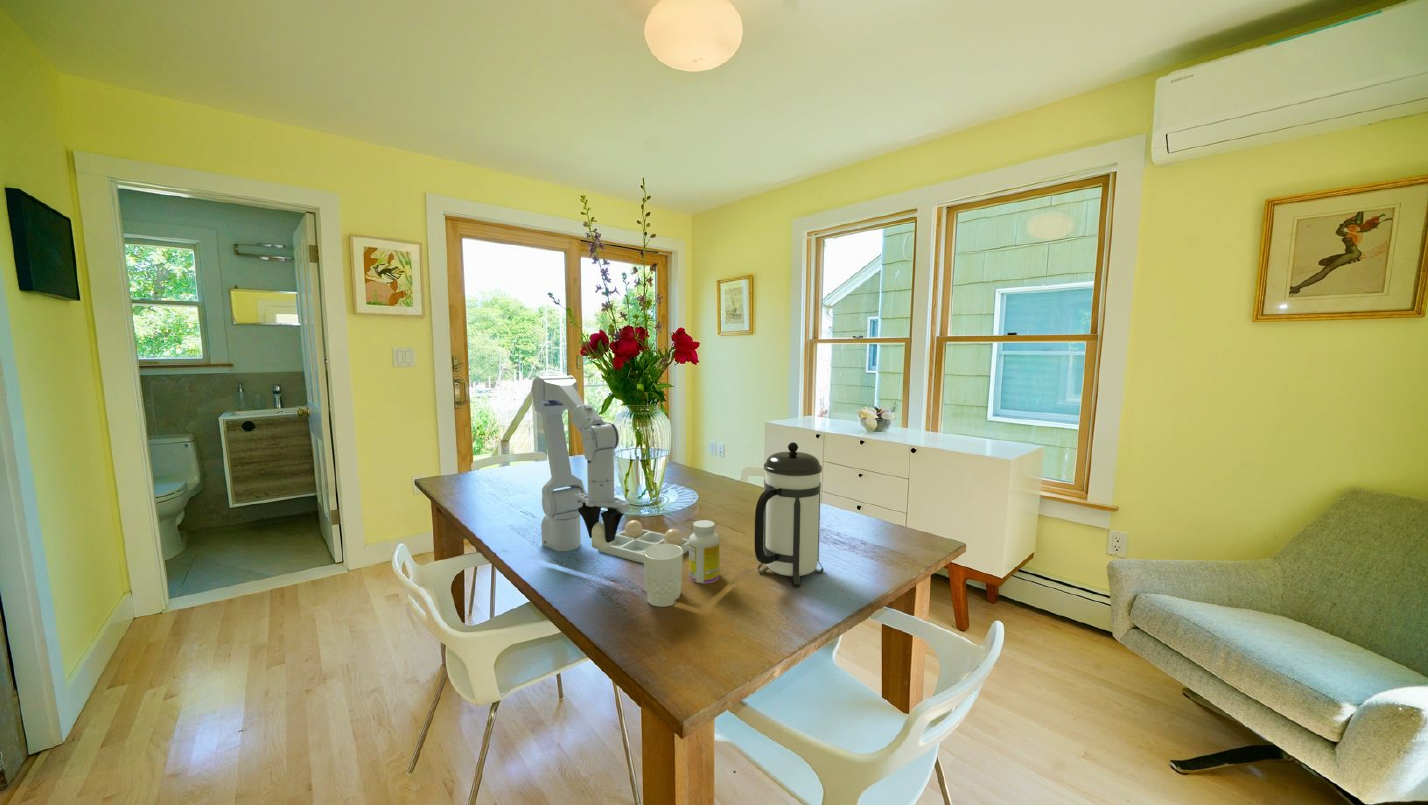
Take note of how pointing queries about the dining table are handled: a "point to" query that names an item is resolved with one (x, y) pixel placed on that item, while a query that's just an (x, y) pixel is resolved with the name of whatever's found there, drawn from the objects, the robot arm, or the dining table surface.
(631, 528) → the brown egg back left
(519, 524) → the dining table surface
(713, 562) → the supplement bottle
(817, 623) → the dining table surface
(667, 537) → the brown egg back right
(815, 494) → the coffee press
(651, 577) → the white cup
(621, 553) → the egg carton
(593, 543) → the cream egg
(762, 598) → the dining table surface
